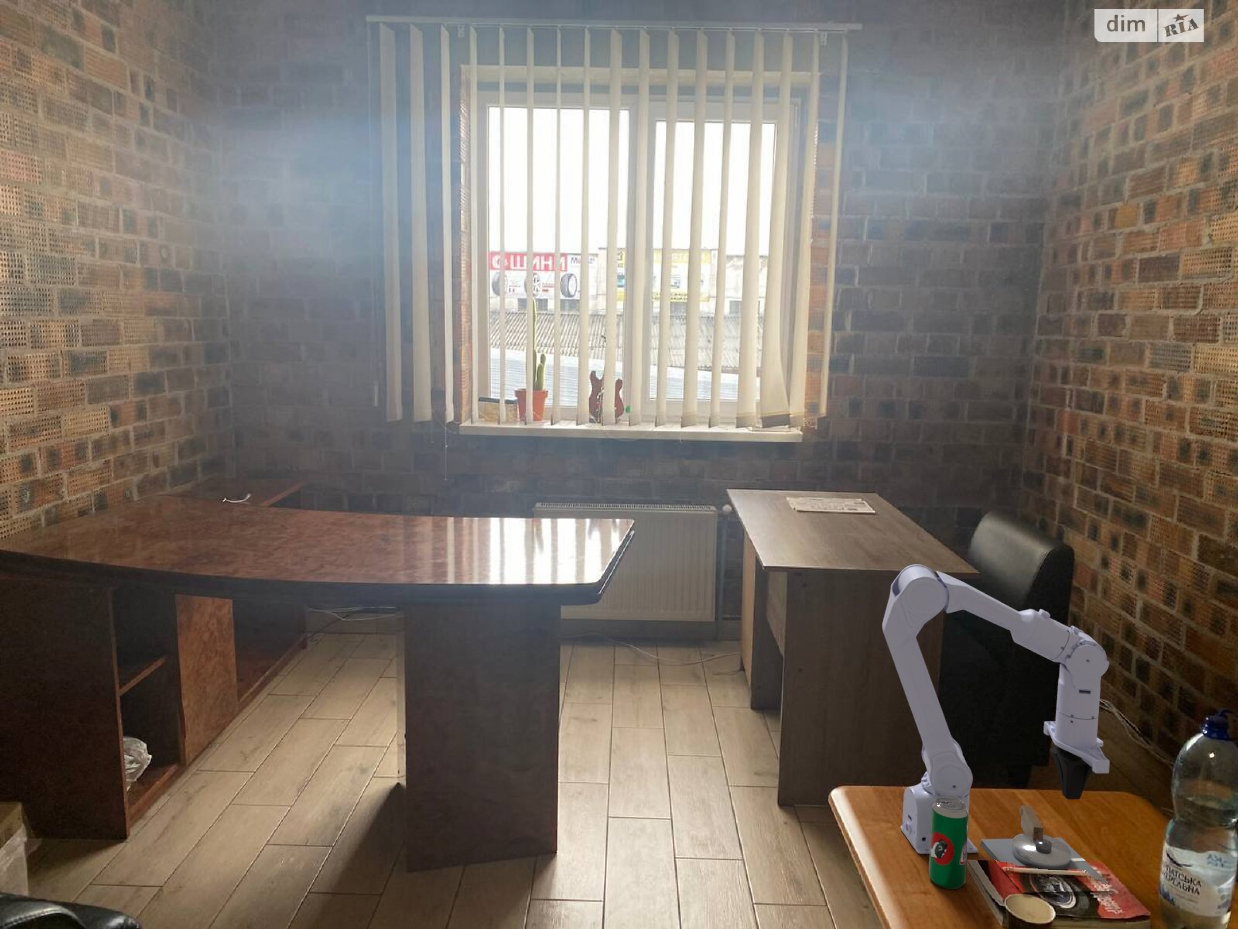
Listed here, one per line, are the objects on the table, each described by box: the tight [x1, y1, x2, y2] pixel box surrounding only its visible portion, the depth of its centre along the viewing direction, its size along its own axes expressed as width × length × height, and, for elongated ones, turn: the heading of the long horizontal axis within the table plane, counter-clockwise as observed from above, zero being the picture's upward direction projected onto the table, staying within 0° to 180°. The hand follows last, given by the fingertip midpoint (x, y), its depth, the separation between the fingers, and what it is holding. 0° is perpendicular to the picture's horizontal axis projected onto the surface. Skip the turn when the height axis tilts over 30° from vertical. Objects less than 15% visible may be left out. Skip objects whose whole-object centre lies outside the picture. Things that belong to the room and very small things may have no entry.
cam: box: [1012, 804, 1071, 870], centre depth 138 cm, size 14×8×4 cm, turn 169°
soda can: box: [928, 797, 970, 890], centre depth 130 cm, size 5×5×12 cm
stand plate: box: [980, 837, 1111, 886], centre depth 134 cm, size 13×13×1 cm
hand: (1071, 797), depth 137 cm, fingers closed
